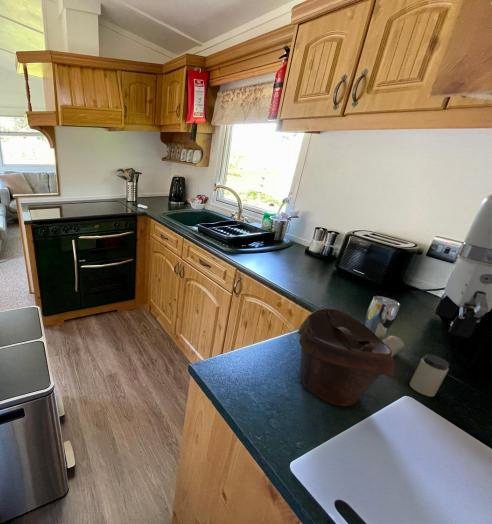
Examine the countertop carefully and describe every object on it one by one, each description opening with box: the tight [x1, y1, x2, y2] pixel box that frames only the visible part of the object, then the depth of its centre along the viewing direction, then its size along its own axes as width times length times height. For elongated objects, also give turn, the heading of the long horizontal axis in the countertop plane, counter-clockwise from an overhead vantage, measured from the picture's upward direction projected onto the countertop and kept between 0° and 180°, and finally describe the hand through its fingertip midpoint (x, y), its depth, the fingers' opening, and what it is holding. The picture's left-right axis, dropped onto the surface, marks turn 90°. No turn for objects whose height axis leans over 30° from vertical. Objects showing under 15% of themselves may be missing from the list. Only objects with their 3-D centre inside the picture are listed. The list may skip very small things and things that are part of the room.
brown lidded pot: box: [297, 307, 396, 407], centre depth 69 cm, size 18×20×18 cm
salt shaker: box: [382, 335, 405, 358], centre depth 86 cm, size 5×5×9 cm
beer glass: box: [364, 295, 401, 340], centre depth 90 cm, size 7×7×15 cm
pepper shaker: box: [409, 353, 450, 398], centre depth 73 cm, size 5×5×9 cm
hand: (450, 325), depth 66 cm, fingers open, 9 cm apart
